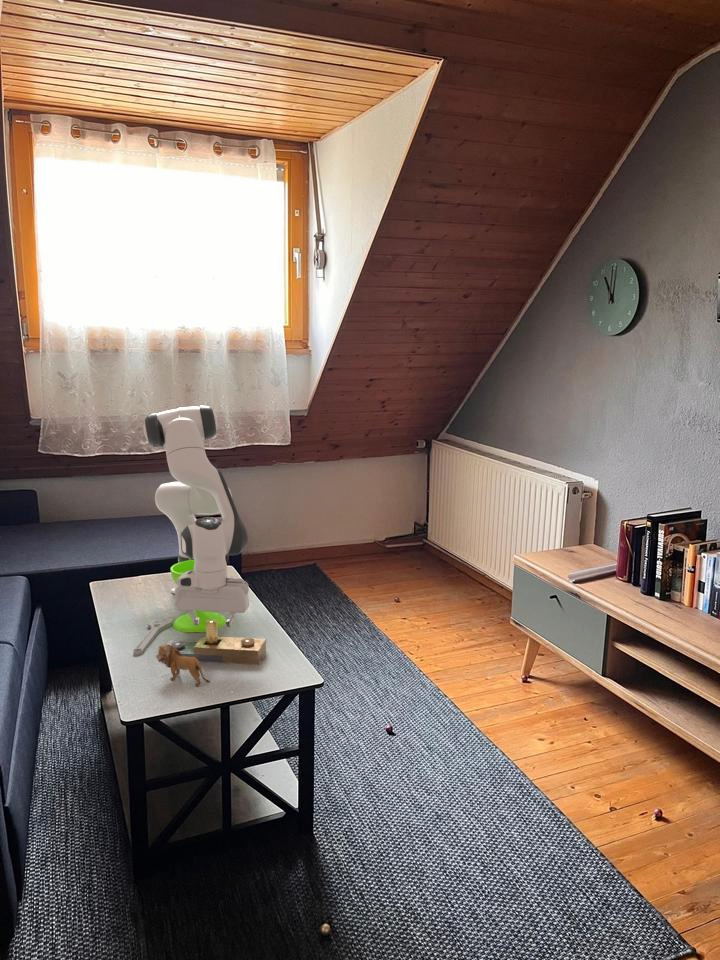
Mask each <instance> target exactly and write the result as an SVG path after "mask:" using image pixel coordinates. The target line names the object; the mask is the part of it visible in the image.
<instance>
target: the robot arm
mask: <svg viewBox="0 0 720 960" xmlns="http://www.w3.org/2000/svg"><path fill="white" fill-rule="evenodd" d="M218 425H219V422H218V416H217V414H216V413H215V411H214V410H213V408H212V407H211V406H209V405H198V406H183V407H178V408H174V409H168V410H164V411H161V412H158V413H157V412H154V413H153V412H152V413H150V414H148V415H146V417H145V418H144V422H143V428H142V429H143V434H144V437H145V439H146V441H147V442H148V444H149V445H151V447H153V448H163V447H165V453H166V454H165V456H166V462H167V465H168V469H169V473H170V475H171V476H172V478H174V479H175V480H176V481H171V482H166V483H161V484H160V485H159V486H158V488H157V489H156V491H155V495H154V502H155V505H156V507H157V509H158V510H159V511H160V512H161V513H163V514H164V515H165V516H167V518H168V520H170V521H171V523H172V524H173V526H174V528H175V531H176V533H177V539H178V541H177V542H178V551H179V552H178V554H177V556H178V558H177V561H178V562H177V563H180V562H183V561H188V560H195V564H194V570H190V571H187V572H185V573H183V574H182V575H181V576H180V577H179V578H178V579H177V584H176V583H175V582H174V587H173V588H171V590H170V593H171V594H174V608H175V609H177V610H179V611H187V614H189V616H190V617H191V619H192V620H193V625H199V624H200V621H199V620H200V617H197V616H196V615H195V613H194V612H196V611H209V612H215V613H228V615H229V616H230V618H227V619H226V623H225V627H226V628H232V627H233V625H234V618H235V617H236V615H237V614H244V613H245V612H246V611H247V610H248V609H249V607H250V600H249V599H250V598H249V583H248V582H247V581H246V580H244V579H243V578H232V577H228V565H227V561H226V556H238V555H240V554H241V553H242V552H243V551H244V550H245V548H247V546H248V542H249V536H248V532H247V529H246V527H245V524H244V522H243V520H242V519H241V516H240V514H239V512H238V509H237V506H236V504H235V502H234V499H233V495H232V490H231V489H230V487H228V484H227V481H226V479H225V477H224V475H223V472H221V469H219V468H218V467H215V466H214V465H213V464H212V463H211V462H210V460H209V458H208V456H207V454H206V449H205V444H204V440H205V441H206V440H209V439H212V438H214V437H215V435H217V433H218V432H217V431H218ZM217 514H218V515H219V514H220V516H221V519H222V520H221V519H219V518H218V517H214V516H210V515H217ZM195 515H209V516H202V517H200V518H198V519H197V518H196V516H195Z"/></svg>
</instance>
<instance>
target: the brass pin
mask: <svg viewBox="0 0 720 960" xmlns="http://www.w3.org/2000/svg"><path fill="white" fill-rule="evenodd" d="M218 633H219V632H218V629H217V620H208V621H206V632H205V634H206V635H205V636H207V645H216V646H218V637H219V636H218Z"/></svg>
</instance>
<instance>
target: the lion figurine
mask: <svg viewBox="0 0 720 960" xmlns="http://www.w3.org/2000/svg"><path fill="white" fill-rule="evenodd" d="M156 659H157V662H158V663H162V664H164V665H165V667H167V668H169V669H170V672H171V673H170V674H171V676H172V677H170V679H169V680H170V681H171V682H173V680H174V681H175V680H176V679H177V677H179V676H180V675H181V670H182V671H187V670H188V671H189V673H190V675H191V677H192V678H193V680H195V682H196V683H195V687H198V688H199V687H200V686H201V684H202V682H201V678H202V680H204V682H206V684H207V683H211V680H210V679H207V678H206V677H205V676H204V674H203V673H204V672H203V670H202V667H201V664H200V661H199V660H198V659H197V658H196V657H187V656H183V655H182V654H181V653H180V652H179V651H178V650H177V649H176V648H174V647H172V646H170V645H167V643H165V644H161V645H160V646H158V653H157V655H156ZM200 676H201V678H200Z"/></svg>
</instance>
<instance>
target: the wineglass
mask: <svg viewBox="0 0 720 960" xmlns="http://www.w3.org/2000/svg"><path fill="white" fill-rule="evenodd" d="M194 564H195V560H188V561H183V562H180V563H178V562H177V563H174V564H173V565H172V566H171V567H170V574H171V577H172V579H173V582H174V584H175V583H176V584H177V579H178V578H179V577H180V576H181V575H182V574H183V573H185V572H187V571H190V570H194ZM194 613H195V615H196V616H197V617H200V620H199V621H200V624H199V625H193V620H192V619H191V617H190V616H189V614H188V613H185V614H182V615H180V616H179V617H177V618H176V619H175V620H174V621H173V622H172V625H173V628H174V629H175V630H177V631H179V632H181V633H182V632H183V633H187V632H201V633H206V621H208V620H217V630H219V629H220V628H222V627H223V626H225V625H226V621H227V619H226V618H225V616H224V615H223V614H221V613H220V612H212V611H195V612H194ZM224 624H225V625H224Z"/></svg>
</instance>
